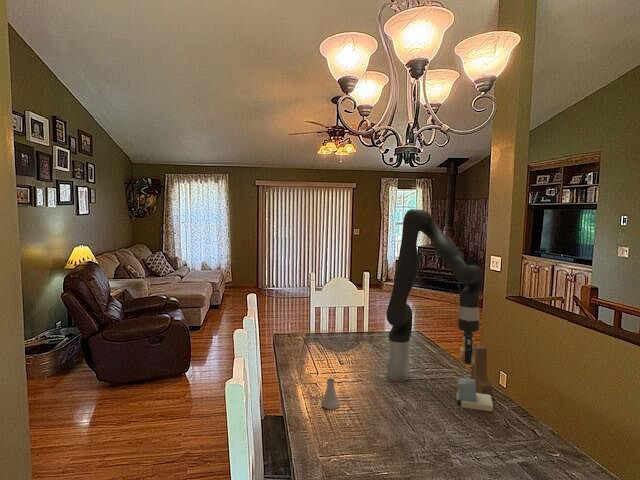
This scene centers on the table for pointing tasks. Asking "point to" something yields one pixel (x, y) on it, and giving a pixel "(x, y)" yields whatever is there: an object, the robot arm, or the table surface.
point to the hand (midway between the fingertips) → (467, 360)
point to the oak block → (462, 356)
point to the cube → (467, 389)
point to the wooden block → (481, 371)
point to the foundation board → (478, 402)
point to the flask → (330, 396)
